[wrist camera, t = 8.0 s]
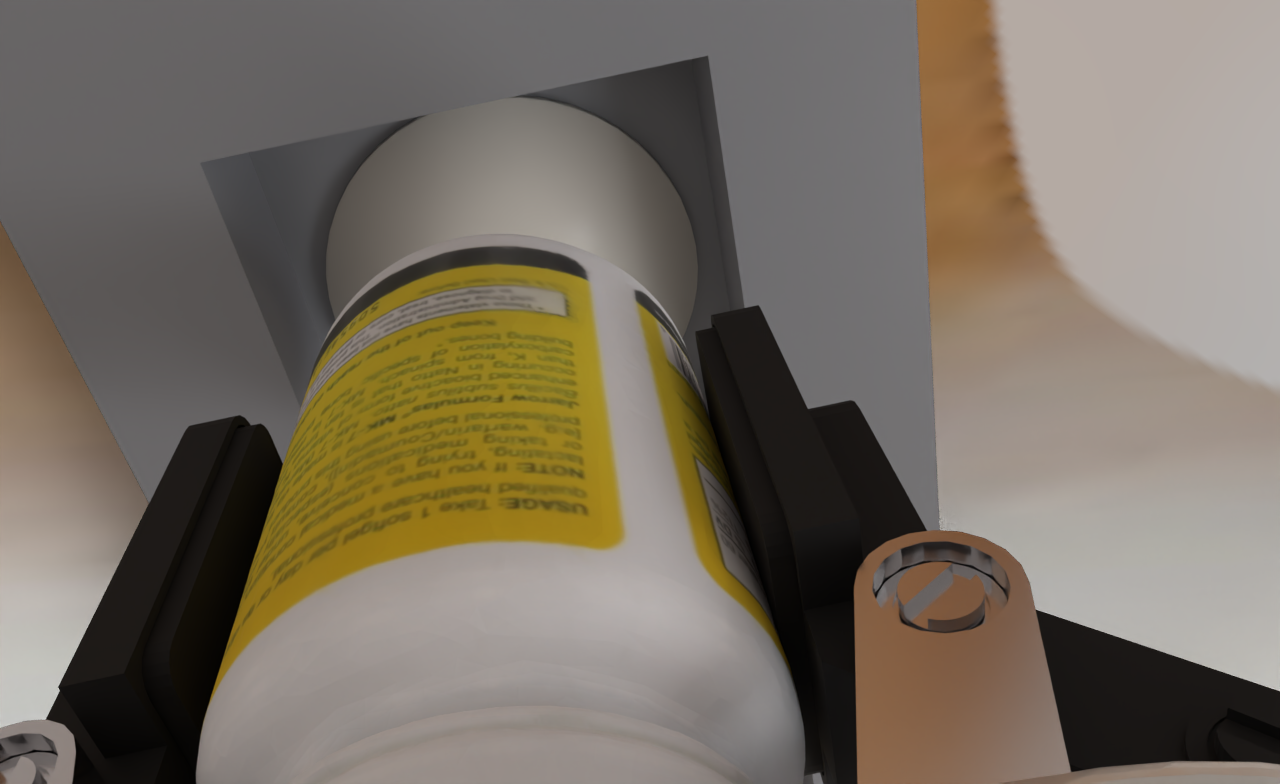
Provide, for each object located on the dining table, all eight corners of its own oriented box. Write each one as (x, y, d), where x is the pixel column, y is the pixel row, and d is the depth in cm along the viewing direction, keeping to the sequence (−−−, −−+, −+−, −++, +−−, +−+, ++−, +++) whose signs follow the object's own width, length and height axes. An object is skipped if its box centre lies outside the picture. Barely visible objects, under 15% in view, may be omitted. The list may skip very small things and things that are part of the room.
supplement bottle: (251, 453, 14) (-47, 1235, 6) (432, 146, 12) (310, 733, 5) (569, 594, 15) (624, 1334, 8) (767, 344, 14) (1067, 999, 6)
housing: (841, -274, 14) (903, -283, 12) (923, 898, 27) (960, 998, 25) (-43, -86, 14) (-148, -60, 12) (468, 993, 27) (464, 1101, 25)
